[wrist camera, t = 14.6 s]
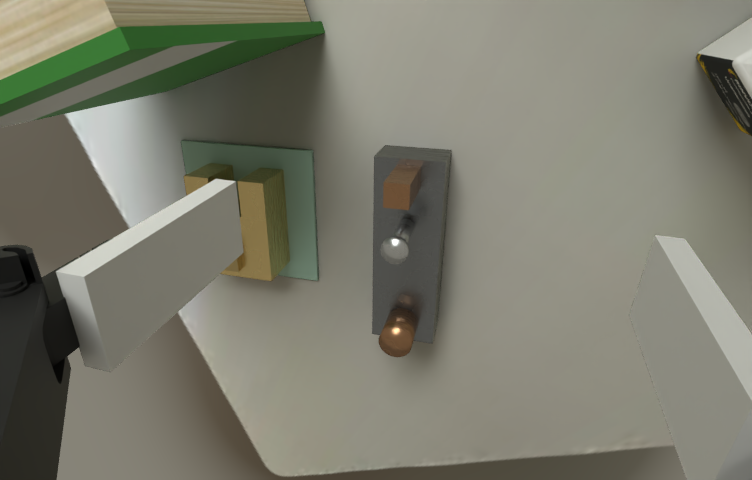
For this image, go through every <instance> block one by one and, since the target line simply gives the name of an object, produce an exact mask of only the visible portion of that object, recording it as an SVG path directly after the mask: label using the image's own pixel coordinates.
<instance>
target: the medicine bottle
mask: <svg viewBox="0 0 752 480" xmlns="http://www.w3.org/2000/svg"><path fill="white" fill-rule="evenodd" d="M697 60H698V61H699V63H700V65H701V66H702V68H703V69H704V71H705V73H706V74H707V76H708V78H709V79H710V81H711V83H712V84H713V86H714V88H715V89H716V91H717V93H718V94H719V96H720V98H721V99H722V101H723V103H724V104H725V106H726V108H727V109H728V111H729V113H730V114H731V116H732V118H733V119H734V121H735V123H736V124H737V126H738V128H739V129H740V130H741V131H742V132H744V133H746V134H749V135H751V136H752V18H750V19H749V20H747V21H745V22H744V23H742V24H741V25H739V26H738V27H736V28H735V29H733V30H732V31H730V32H728V33H727V34H725V35H724V36H722V37H721V38H719V39H718V40H716V41H715V42H713V43H712V44H710V45H708V46H707V47H705V48H704V49H702V50H701V51H699V52H698V53H697Z"/></svg>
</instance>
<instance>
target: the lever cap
mask: <svg viewBox="0 0 752 480" xmlns="http://www.w3.org/2000/svg"><path fill="white" fill-rule="evenodd" d="M215 179H221V180H229V181H234V173H233V165H227V164H216V163H209V164H207V165H205V166H203V167H201V168H199V169H197V170H195V171H193V172H191V173H189V174H186V175H184V182H185V188H186V194H187V195H189V194H191V193H192V192H194V191H196V190H198V189H199V188H201V187H203V186H204V185H206V184H208V183H210V182H211V181H213V180H215ZM237 183H238V192H239V198H238V205H239V215H240V224H241V234H242V243H243V253H242V254H241V255H240V256H239V257H238V258H237V259H236V260H235V261H233V262H232V263H231V264H230V265H229V266H228V267H227V268H226V269H225V270H224V271H222V272H221V273H220V274H225V275H232V276H239V277H246V278H253V279H260V280H267V281H272V280H273V279H274V278H275V277H276V276H277V275H278V274H279V273H280V271H281V270H282V269H283V268H284V267H285V266H286V265H287V264H288V263H289V261H290V252H289V238H288V224H287V210H286V196H285V182H284V170H283V169H272V168H261V167H260V168H258V169H257V170H255V171H253V172H252V173H250V174H248V175H247V176H245V177H243V178H242V179H240V180H238V181H237Z"/></svg>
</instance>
